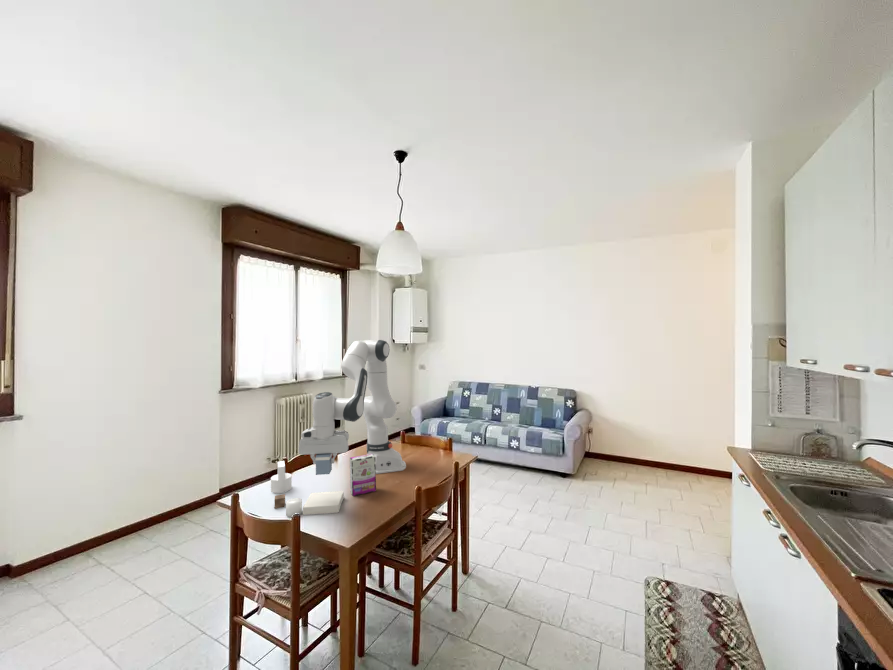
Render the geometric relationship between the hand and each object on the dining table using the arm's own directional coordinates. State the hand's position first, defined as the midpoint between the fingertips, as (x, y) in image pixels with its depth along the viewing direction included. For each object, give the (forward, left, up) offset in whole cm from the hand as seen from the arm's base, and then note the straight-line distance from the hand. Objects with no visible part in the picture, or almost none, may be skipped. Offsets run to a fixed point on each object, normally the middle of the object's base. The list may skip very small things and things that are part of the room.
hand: (323, 463), depth 155 cm
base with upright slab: (+24, -21, -18) cm, 37 cm away
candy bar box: (-15, -12, -18) cm, 26 cm away
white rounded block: (+11, +5, -18) cm, 22 cm away
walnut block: (+19, -3, -18) cm, 26 cm away
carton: (0, 0, -4) cm, 4 cm away
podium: (0, 0, -18) cm, 18 cm away
